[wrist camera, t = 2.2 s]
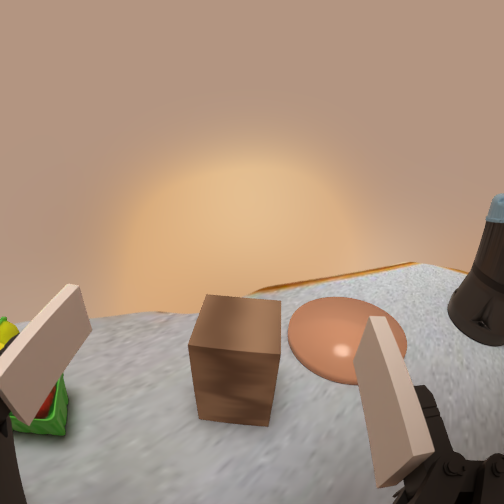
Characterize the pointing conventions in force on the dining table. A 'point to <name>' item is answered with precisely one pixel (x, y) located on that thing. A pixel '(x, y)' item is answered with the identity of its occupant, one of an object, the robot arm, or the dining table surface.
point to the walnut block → (236, 359)
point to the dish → (335, 335)
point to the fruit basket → (54, 406)
